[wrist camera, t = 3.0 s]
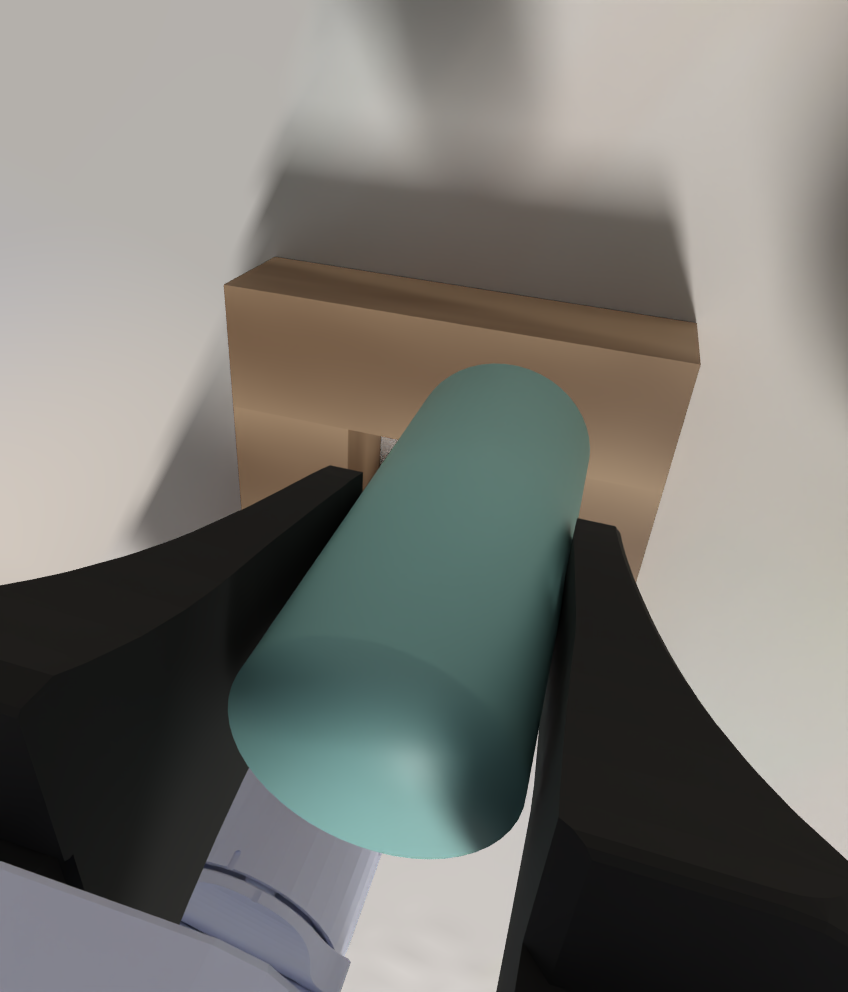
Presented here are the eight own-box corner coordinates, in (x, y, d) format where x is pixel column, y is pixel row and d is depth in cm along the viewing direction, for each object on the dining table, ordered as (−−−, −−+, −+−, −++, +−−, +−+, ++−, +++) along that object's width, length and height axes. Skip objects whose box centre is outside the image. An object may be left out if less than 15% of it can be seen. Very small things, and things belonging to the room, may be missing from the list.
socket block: (603, 653, 26) (595, 717, 23) (287, 574, 28) (250, 626, 26) (696, 323, 19) (700, 364, 17) (274, 256, 21) (223, 284, 19)
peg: (566, 539, 16) (494, 894, 9) (406, 497, 16) (231, 802, 10) (610, 387, 14) (560, 697, 7) (427, 345, 14) (223, 596, 8)
